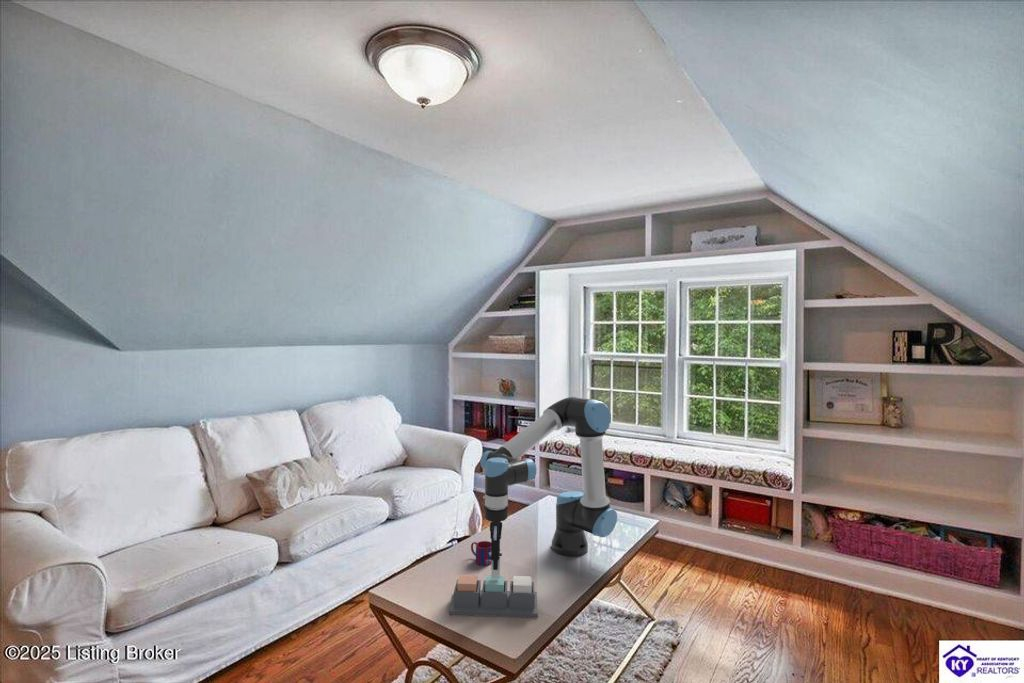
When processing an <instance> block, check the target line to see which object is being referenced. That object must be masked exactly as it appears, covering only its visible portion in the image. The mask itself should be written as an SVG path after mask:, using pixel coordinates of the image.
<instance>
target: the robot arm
mask: <svg viewBox="0 0 1024 683" xmlns="http://www.w3.org/2000/svg"><path fill="white" fill-rule="evenodd" d="M611 422H612V415H611V411H610V408H609V407H608V405H607V404H605V402H603V401H599V400H596V399H593V398H591V399H589V398H582V397H576V396H570V397H566V398H562V399H560V400H558V401H556V402H554V403H553V404H551V405H550V406H548V407H547V408H546V409H544V410H543V412H542V415H541V416H539V417H538V418H537V419H535V420H534V421H532V422H531V423H530V424H529V425H527V426H526V427H524V429H522V430H521V431H519V432H518V433H517V434H516V435H515V436H513V437H511V439H509V440H507V441H506V442H505V443H504V444H502V446H500V447H499V448H498V449H496V450H486V451H485V452H484V453H483V454H482V455H481V457H480V461H479V462H480V467H481V468H482V469H483V470H484V495H483V496H482V498H483V500H484V506H485V507H484V518H485V520H487V521H488V522H490V523H489V524H490V525H489V532H490V540H491V541H490V542H491V557H490V558H489V560H491V564H490V565H491V567H490V569H491V570H490V571H491V574H490V575H491V579H500V576H501V575H500V573H501V571H500V570H501V557H503V556H502V555H503V554H502V552H501V539H502V531H503V521H506V520H507V519H508V518H509V517H508V516H509V515H508V510H509V509H508V508H509V507H508V505H509V487H510V486H513V485H517V484H522V483H528V482H529V481H532V480H533V479H535V478H536V476H537V465H536V464H535V462H534V460H533V459H531V458H529V457H528V458H522V459H521V457H523V456H524V455H525V454H527V453H528V452H529V451H530V450H531V449H533V448H534V447H535V446H536V445H538V444H540V442H542V441H543V440H544V439H545V438H547V437H548V436H549V435H551V433H553V432H554V431H559V430H562V428H563V427H569V426H570V427H574V430H575V436H577V438H579V447H580V458H581V459H580V460H581V462H580V463H581V474H582V488H583V489H582V490H583V491H576V490H575V491H564V492H561V493H559V494H558V495H557V496H556V503H555V505H556V506H555V510H556V511H555V531H554V533H553V536H552V539H551V549H552V551H553V552H555V553H557V554H559V555H562V556H567V557H569V556H570V557H575V556H576V557H577V556H582V555H585V554H586V553H587V552H588V549H589V542H588V540H587V537H586V533H589V534H592V535H593V536H596V537H599V538H606V537H608V536H610V535H611V534H612V533H613V531H614V530H615V528H616V525H617V521H618V513H617V511H616V510H615V509H614V508H612V507H611V501H610V498H609V497H608V496H607V494H606V482H605V464H604V463H605V462H604V452H603V451H604V450H603V437H604V436H605V435H606V432H607V430H608V429H609V428H610V424H611ZM585 532H586V533H585Z"/></svg>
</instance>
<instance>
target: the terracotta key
mask: <svg viewBox="0 0 1024 683" xmlns="http://www.w3.org/2000/svg"><path fill="white" fill-rule="evenodd" d="M478 578H479V576H478V574H459V577H458V579H457V580H458V583H457V591H468V592H477V585H478V580H479V579H478Z"/></svg>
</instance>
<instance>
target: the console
mask: <svg viewBox="0 0 1024 683" xmlns="http://www.w3.org/2000/svg"><path fill="white" fill-rule="evenodd" d="M458 580H459V579H457V580H456V583H455V586H454V589H453V596H452V599H451V604H450V608H449V612H448V613H449V614H448V615H449V616H466V617H468V616H469V617H471V616H472V617H497V618H498V617H500V618H501V617H502V618H503V617H507V618H535V619H538V618H539V610H538V595H537V594H538V592H537V591H536V590H535V581H532V593H513V580H510V582H509V583H510V584H509V590H508V580H504V592H485V583H486V579H484V580H483V581H482V580H480V579H478V585H477V592H468V591H457V583H458ZM481 586H482V589H481Z"/></svg>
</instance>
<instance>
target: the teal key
mask: <svg viewBox="0 0 1024 683" xmlns="http://www.w3.org/2000/svg"><path fill="white" fill-rule="evenodd" d="M485 580H486V583H485V592H504V581H505V575H500V579H491V574H490V575H489V574H487V575H486V577H485Z"/></svg>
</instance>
